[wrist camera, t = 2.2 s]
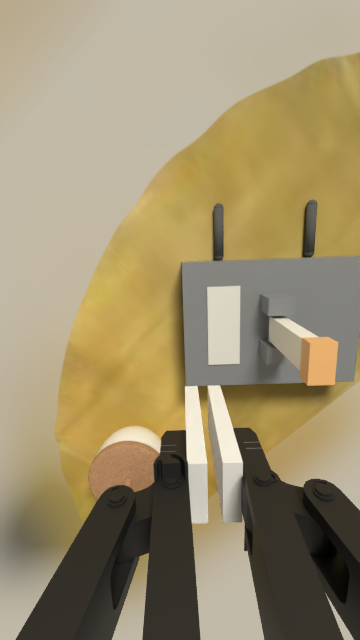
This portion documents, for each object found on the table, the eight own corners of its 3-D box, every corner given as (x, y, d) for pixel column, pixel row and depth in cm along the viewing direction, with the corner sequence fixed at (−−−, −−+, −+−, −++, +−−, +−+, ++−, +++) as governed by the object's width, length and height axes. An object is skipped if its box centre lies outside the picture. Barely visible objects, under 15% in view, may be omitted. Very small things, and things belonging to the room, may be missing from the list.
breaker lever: (284, 312, 35) (338, 342, 23) (282, 340, 35) (334, 384, 23) (265, 312, 35) (310, 343, 23) (264, 341, 36) (307, 385, 24)
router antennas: (314, 200, 38) (319, 198, 36) (311, 257, 39) (315, 257, 38) (213, 204, 38) (214, 202, 37) (213, 260, 39) (214, 260, 38)
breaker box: (343, 255, 39) (387, 256, 31) (334, 366, 43) (371, 393, 34) (181, 261, 39) (181, 263, 31) (185, 371, 43) (186, 399, 35)
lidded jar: (183, 453, 46) (184, 503, 37) (127, 483, 47) (115, 538, 38) (147, 401, 44) (138, 439, 35) (90, 433, 45) (67, 478, 36)
